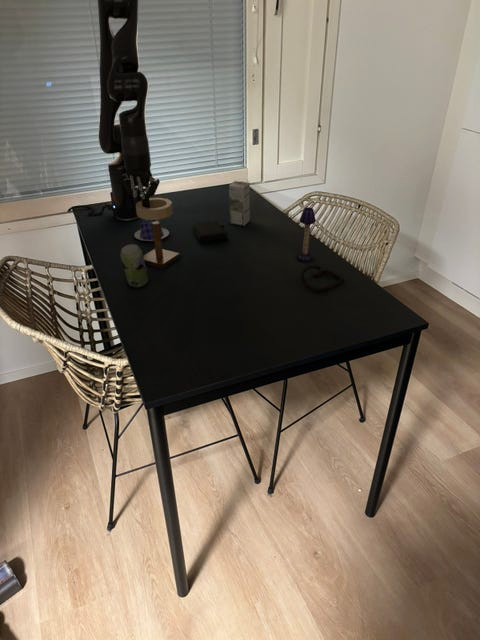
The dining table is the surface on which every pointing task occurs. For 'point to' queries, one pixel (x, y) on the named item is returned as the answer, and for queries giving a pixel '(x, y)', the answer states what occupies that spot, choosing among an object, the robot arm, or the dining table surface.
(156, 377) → the dining table surface
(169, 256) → the peg stand
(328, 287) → the metal loop
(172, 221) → the dining table surface
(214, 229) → the carrying case
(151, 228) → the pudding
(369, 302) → the dining table surface
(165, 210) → the tape roll
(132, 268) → the beverage can
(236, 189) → the syrup box
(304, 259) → the purple spotted mushroom
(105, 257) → the dining table surface
